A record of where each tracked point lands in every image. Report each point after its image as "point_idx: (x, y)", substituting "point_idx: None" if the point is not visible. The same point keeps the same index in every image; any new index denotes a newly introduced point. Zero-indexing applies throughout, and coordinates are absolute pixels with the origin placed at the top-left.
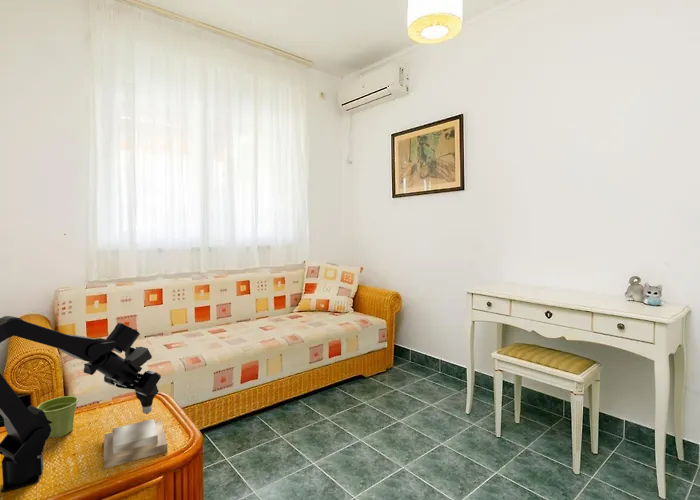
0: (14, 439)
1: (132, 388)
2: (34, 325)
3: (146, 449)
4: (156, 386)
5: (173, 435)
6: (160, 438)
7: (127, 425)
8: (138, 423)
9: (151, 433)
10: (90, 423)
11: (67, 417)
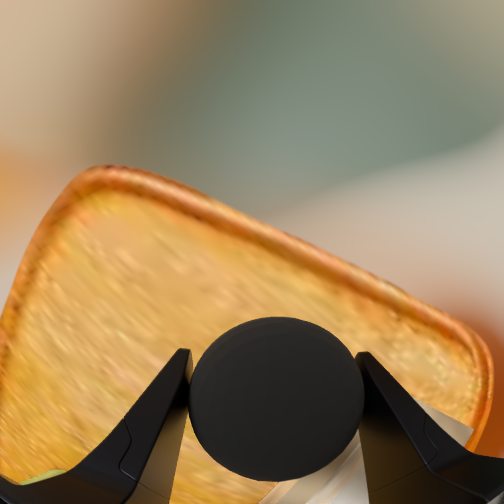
0: None
1: (174, 462)
2: None
3: None
4: (348, 350)
5: (432, 376)
6: (448, 432)
7: (335, 500)
8: (364, 473)
9: None
10: (83, 443)
11: None
